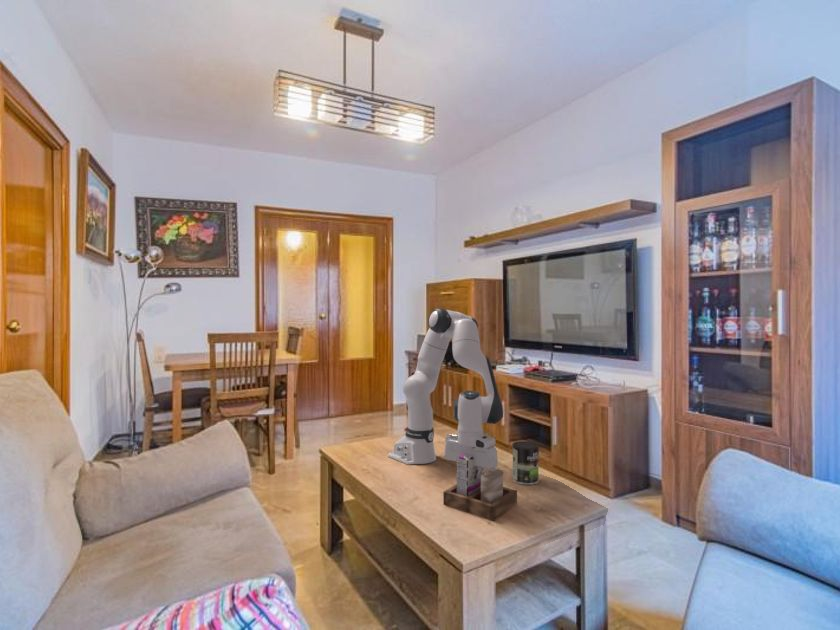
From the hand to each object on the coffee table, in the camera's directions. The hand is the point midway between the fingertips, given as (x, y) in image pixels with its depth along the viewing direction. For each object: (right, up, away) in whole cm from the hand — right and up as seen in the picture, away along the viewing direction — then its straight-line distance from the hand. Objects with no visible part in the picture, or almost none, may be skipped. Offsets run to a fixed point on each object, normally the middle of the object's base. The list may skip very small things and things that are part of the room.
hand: (470, 476), depth 165 cm
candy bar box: (0, -9, 0) cm, 9 cm away
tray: (+3, -9, -3) cm, 10 cm away
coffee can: (+24, -8, +19) cm, 32 cm away
